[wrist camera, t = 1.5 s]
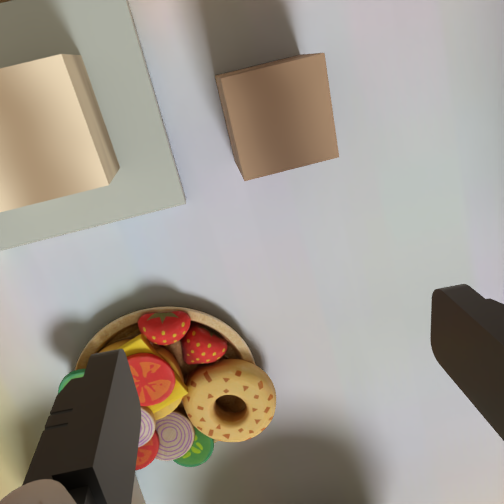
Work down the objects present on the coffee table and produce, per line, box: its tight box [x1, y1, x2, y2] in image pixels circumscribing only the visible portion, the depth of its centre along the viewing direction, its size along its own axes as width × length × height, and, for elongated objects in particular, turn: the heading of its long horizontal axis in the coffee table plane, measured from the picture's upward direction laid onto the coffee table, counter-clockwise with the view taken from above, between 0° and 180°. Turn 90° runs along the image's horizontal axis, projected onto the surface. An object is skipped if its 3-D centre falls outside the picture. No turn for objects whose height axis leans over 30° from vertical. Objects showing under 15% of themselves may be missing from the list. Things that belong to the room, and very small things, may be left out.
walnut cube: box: [215, 53, 339, 181], centre depth 24 cm, size 5×5×5 cm
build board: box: [0, 0, 186, 251], centre depth 25 cm, size 12×12×1 cm
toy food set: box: [58, 307, 276, 470], centre depth 32 cm, size 13×13×3 cm
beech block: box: [0, 54, 120, 212], centre depth 22 cm, size 6×6×4 cm
